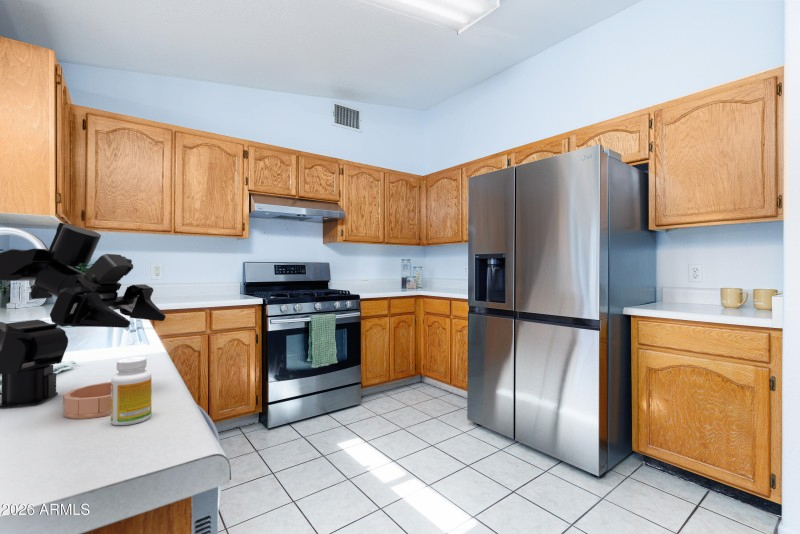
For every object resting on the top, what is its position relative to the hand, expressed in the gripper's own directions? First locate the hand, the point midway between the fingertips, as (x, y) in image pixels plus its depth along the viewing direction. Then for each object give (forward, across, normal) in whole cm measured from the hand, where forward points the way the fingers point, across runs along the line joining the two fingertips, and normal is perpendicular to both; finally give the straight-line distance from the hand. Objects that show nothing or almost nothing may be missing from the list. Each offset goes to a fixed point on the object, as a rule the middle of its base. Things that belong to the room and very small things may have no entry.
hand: (147, 321), depth 70 cm
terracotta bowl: (+1, -3, +16) cm, 16 cm away
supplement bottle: (+9, -8, +12) cm, 17 cm away
